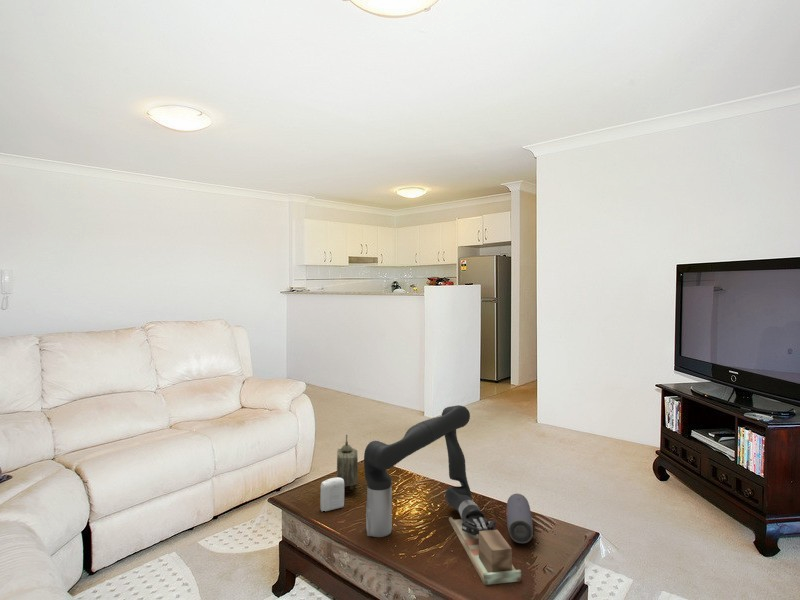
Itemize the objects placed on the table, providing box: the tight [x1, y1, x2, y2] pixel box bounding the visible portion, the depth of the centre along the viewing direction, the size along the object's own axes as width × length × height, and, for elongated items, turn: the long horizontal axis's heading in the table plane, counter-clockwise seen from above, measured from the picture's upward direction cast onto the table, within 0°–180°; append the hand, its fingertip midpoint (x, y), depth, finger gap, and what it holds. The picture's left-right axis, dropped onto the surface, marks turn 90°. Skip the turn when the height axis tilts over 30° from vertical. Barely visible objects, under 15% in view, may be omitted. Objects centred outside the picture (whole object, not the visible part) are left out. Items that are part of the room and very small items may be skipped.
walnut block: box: [479, 529, 513, 573], centre depth 150 cm, size 6×12×9 cm, turn 10°
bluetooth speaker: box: [505, 493, 534, 544], centre depth 173 cm, size 23×9×10 cm, turn 168°
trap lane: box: [448, 516, 522, 586], centre depth 162 cm, size 12×41×3 cm, turn 9°
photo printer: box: [319, 476, 345, 512], centre depth 192 cm, size 10×4×12 cm, turn 123°
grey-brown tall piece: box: [336, 434, 359, 490], centre depth 210 cm, size 14×9×25 cm, turn 6°
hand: (487, 538), depth 156 cm, fingers closed
